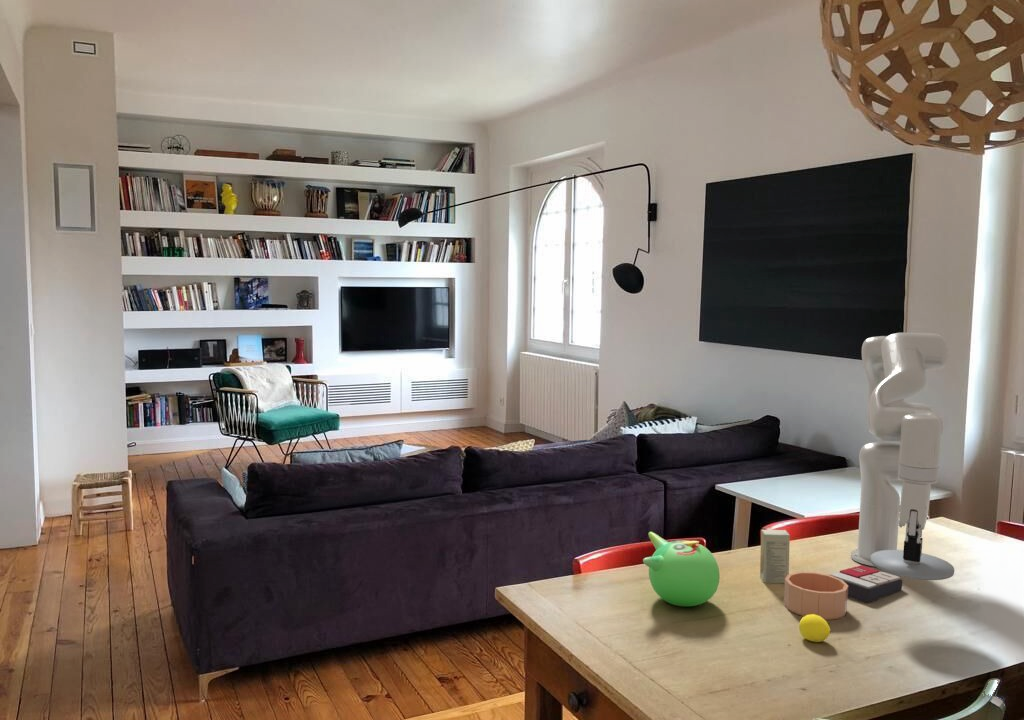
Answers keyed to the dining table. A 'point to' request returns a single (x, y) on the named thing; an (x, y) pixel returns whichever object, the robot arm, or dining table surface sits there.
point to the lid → (912, 565)
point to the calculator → (868, 583)
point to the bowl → (816, 595)
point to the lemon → (814, 628)
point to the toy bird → (682, 571)
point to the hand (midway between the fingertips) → (912, 557)
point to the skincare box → (774, 556)
